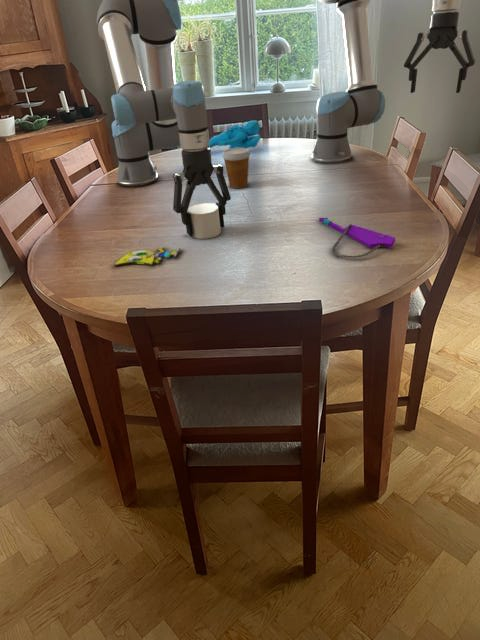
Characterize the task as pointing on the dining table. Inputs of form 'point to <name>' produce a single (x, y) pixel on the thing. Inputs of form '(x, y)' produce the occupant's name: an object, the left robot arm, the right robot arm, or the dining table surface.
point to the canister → (205, 220)
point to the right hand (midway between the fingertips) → (434, 92)
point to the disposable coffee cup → (237, 166)
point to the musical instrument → (361, 237)
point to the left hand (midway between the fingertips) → (205, 230)
